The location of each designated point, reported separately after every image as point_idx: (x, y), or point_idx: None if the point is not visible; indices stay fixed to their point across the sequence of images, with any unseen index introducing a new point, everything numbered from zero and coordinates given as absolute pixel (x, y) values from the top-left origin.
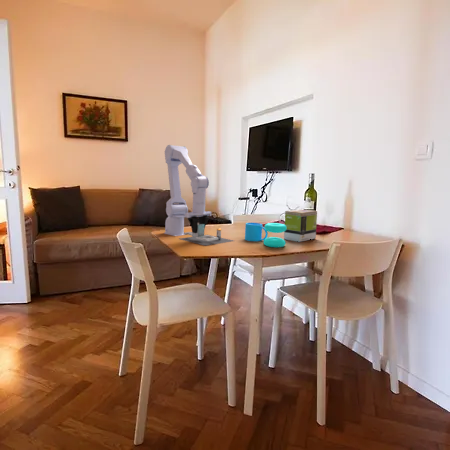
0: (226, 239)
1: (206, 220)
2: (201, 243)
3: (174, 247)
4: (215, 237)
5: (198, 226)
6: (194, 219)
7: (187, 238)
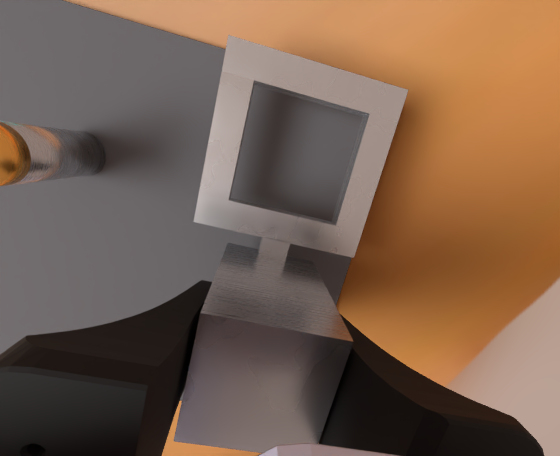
0: None
1: (133, 341)
2: (339, 186)
3: (551, 270)
4: (245, 72)
5: (336, 322)
6: (533, 443)
7: None
